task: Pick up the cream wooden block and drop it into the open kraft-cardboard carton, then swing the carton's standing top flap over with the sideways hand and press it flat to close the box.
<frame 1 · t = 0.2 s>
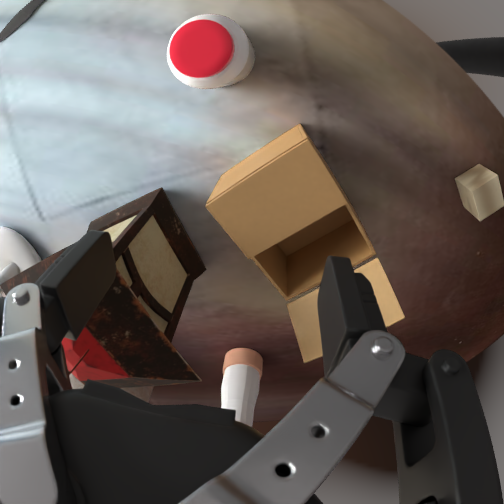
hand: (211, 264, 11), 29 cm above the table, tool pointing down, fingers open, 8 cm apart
pepper shaker: (243, 358, 57), on the table
flap: (342, 311, 32), point 13 cm above the table, hinge at 120.0°
pill bottle: (222, 56, 31), on the table
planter: (121, 360, 62), on the table
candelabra: (19, 264, 50), on the table
lantern: (135, 221, 43), on the table
block: (471, 185, 36), on the table
carton: (292, 195, 39), on the table
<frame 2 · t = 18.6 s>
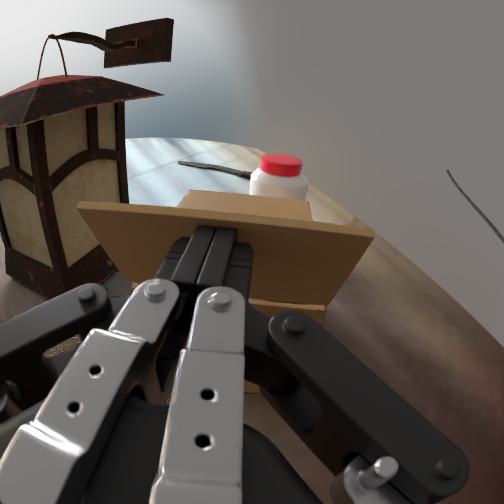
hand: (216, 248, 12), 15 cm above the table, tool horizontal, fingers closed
flap: (220, 262, 14), point 13 cm above the table, hinge at 118.9°, touching gripper
pill bottle: (272, 233, 46), on the table
lantern: (90, 251, 38), on the table
knife: (222, 173, 68), on the table
carton: (233, 325, 29), on the table
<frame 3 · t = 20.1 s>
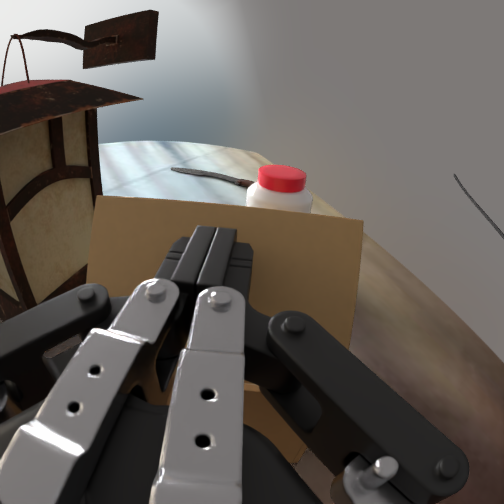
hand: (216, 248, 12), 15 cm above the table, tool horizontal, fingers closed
flap: (212, 293, 13), point 13 cm above the table, hinge at 56.1°
pill bottle: (272, 254, 40), on the table
lantern: (69, 276, 33), on the table
knife: (218, 181, 63), on the table
carton: (225, 374, 24), on the table
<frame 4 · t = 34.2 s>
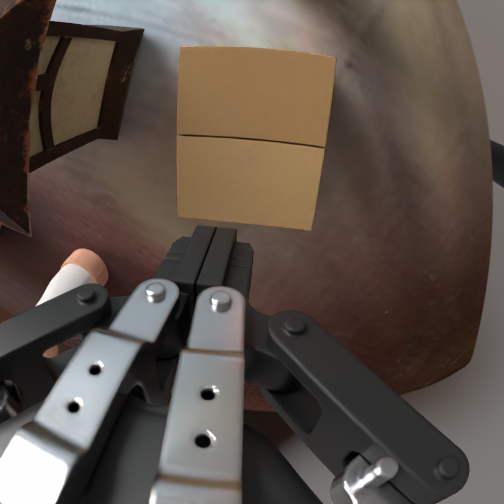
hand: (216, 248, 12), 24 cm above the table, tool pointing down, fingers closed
pepper shaker: (89, 267, 44), on the table
flap: (246, 182, 25), point 10 cm above the table, hinge at -0.3°
lantern: (91, 48, 27), on the table
carton: (258, 122, 32), on the table
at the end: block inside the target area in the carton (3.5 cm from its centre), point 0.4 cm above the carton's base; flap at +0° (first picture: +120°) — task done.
